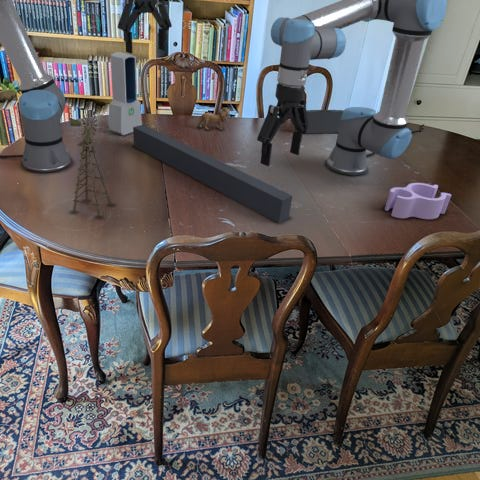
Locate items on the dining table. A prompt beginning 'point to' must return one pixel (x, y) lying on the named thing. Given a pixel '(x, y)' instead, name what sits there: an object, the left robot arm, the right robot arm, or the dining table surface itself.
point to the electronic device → (124, 94)
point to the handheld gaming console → (323, 121)
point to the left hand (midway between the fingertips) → (145, 51)
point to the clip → (417, 201)
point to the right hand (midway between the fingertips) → (280, 159)
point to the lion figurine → (214, 118)
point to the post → (215, 173)
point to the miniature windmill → (86, 142)
